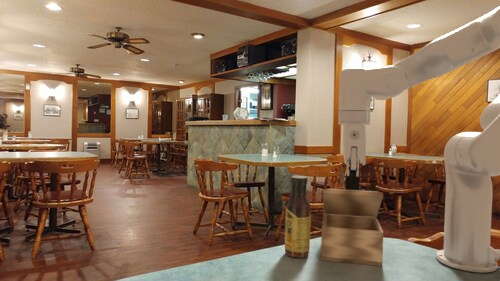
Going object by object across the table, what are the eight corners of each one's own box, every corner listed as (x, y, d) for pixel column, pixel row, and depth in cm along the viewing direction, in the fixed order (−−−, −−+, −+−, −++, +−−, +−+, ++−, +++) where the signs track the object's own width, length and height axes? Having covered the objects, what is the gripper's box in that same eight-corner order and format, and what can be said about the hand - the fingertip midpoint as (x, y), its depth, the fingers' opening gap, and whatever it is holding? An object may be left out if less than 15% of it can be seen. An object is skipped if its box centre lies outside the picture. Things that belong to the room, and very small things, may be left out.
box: (375, 246, 96) (376, 217, 96) (382, 266, 82) (383, 232, 82) (322, 242, 99) (323, 213, 99) (320, 260, 86) (321, 227, 85)
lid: (376, 217, 96) (376, 213, 96) (383, 196, 84) (382, 191, 85) (323, 213, 99) (323, 209, 100) (322, 192, 87) (323, 188, 88)
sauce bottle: (283, 249, 92) (285, 174, 92) (307, 250, 92) (309, 174, 91) (285, 259, 86) (287, 177, 85) (311, 260, 86) (313, 178, 85)
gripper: (372, 118, 80) (370, 199, 80) (367, 119, 94) (365, 188, 95) (338, 117, 81) (336, 196, 82) (338, 119, 96) (336, 186, 97)
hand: (352, 192), depth 89 cm, fingers closed
